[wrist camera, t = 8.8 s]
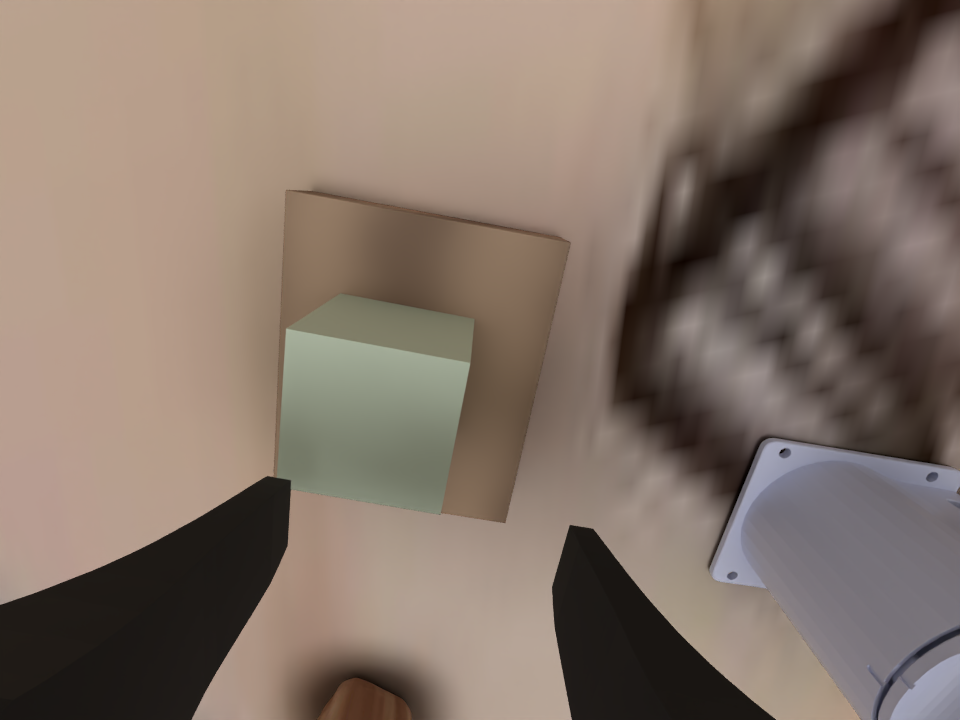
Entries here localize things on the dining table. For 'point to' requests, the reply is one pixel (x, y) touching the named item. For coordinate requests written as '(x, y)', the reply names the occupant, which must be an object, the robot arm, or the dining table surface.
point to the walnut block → (442, 288)
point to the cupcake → (364, 703)
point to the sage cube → (373, 401)
